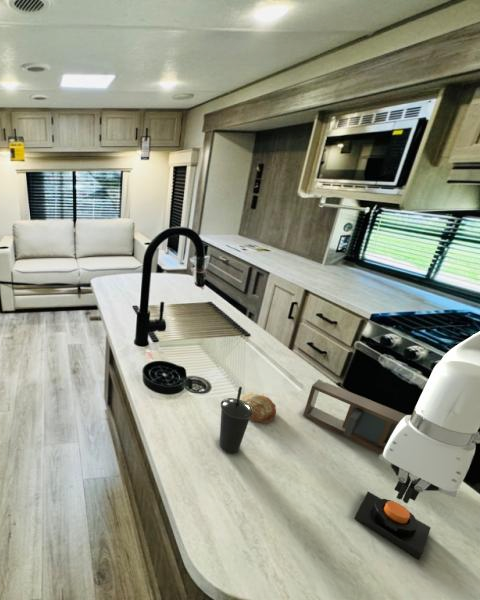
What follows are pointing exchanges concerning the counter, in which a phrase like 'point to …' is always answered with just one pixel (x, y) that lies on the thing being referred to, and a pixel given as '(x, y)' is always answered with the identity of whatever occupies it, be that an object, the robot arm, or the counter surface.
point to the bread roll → (260, 407)
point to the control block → (393, 526)
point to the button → (396, 512)
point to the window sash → (366, 425)
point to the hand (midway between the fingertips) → (403, 496)
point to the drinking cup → (233, 422)
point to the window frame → (355, 401)
